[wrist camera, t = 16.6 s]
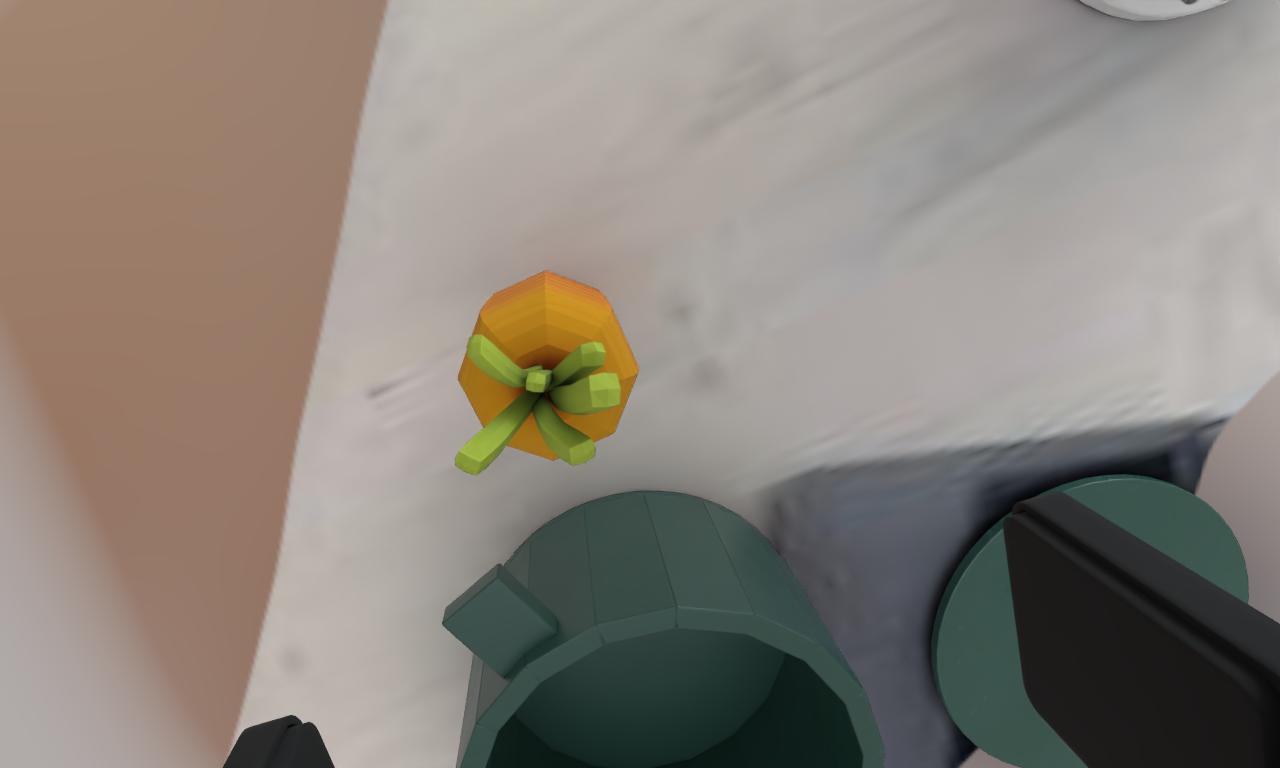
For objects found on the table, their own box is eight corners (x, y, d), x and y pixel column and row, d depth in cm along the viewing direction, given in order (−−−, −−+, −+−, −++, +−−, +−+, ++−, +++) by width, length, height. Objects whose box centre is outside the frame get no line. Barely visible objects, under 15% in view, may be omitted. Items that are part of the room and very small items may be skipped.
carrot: (490, 373, 31) (441, 544, 17) (481, 249, 30) (419, 320, 16) (613, 367, 32) (666, 528, 18) (609, 245, 31) (663, 310, 16)
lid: (1132, 401, 35) (1252, 448, 29) (1279, 621, 39) (1409, 701, 33) (861, 617, 36) (922, 704, 31) (1031, 807, 41) (1114, 916, 35)
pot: (620, 377, 32) (649, 458, 23) (891, 676, 38) (1001, 838, 28) (363, 598, 33) (293, 759, 24) (660, 856, 39) (695, 1067, 30)
